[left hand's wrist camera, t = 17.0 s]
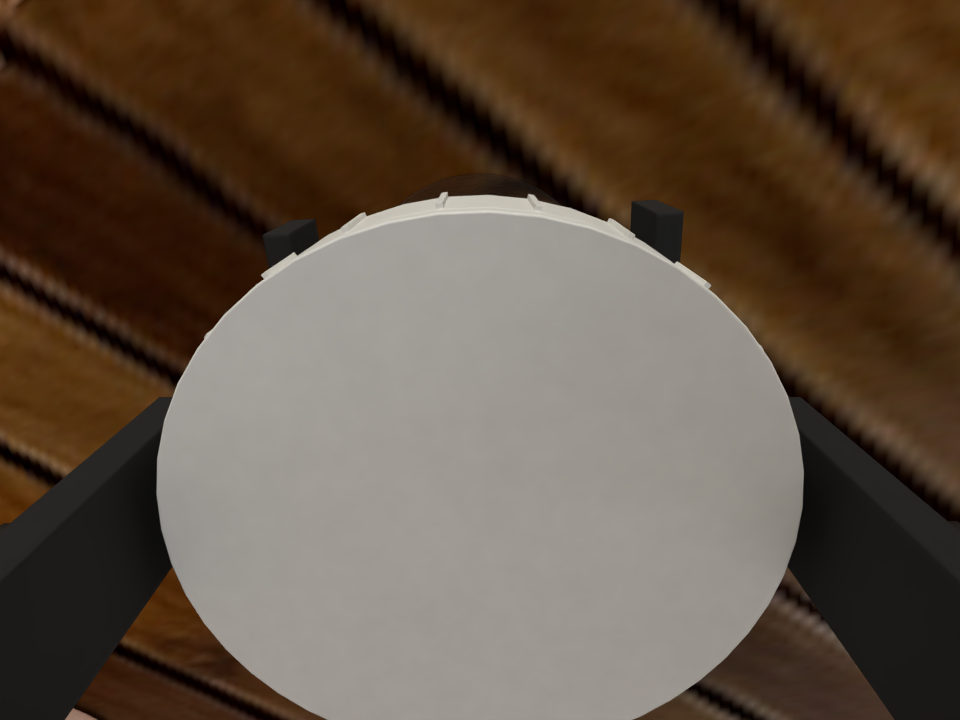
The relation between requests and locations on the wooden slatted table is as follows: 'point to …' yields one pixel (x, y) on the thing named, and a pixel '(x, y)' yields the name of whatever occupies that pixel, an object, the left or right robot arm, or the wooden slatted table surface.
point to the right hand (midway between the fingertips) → (472, 216)
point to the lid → (480, 470)
